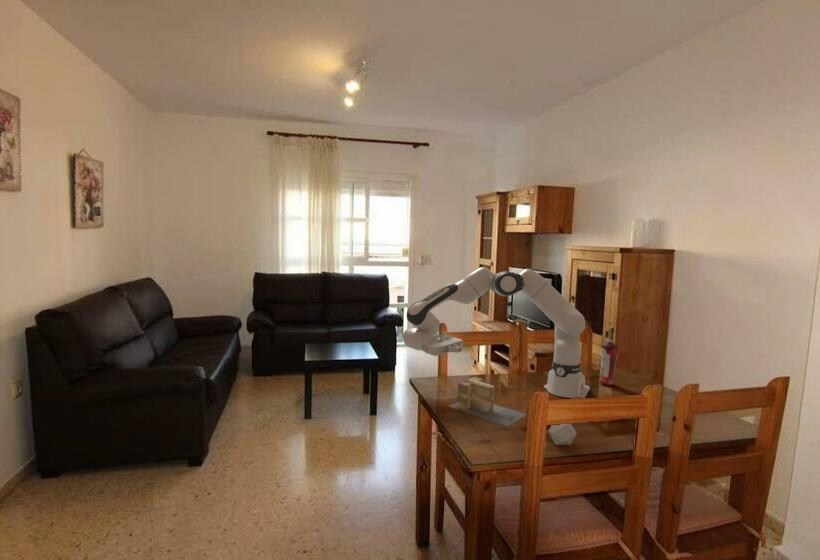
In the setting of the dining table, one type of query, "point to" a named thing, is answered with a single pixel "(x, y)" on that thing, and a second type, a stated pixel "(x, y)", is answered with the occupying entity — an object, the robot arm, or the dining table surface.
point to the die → (562, 434)
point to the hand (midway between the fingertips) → (459, 350)
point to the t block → (475, 395)
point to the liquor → (608, 359)
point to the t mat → (495, 414)
